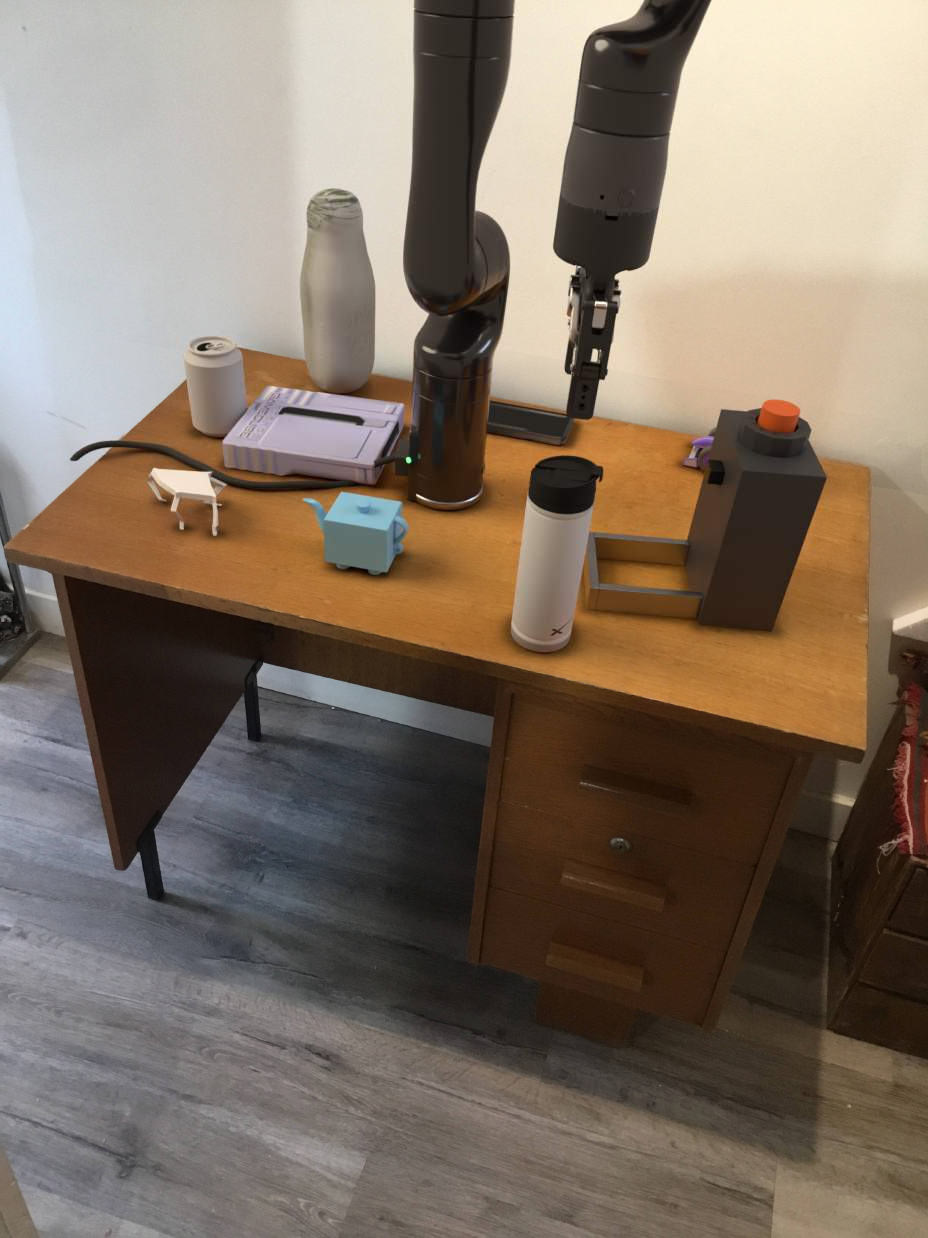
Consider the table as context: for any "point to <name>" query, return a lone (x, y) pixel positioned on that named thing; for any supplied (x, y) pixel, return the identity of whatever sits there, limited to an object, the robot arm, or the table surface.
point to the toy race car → (704, 454)
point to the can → (215, 384)
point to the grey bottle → (337, 294)
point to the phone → (528, 423)
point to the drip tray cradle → (642, 551)
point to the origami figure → (188, 489)
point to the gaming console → (314, 435)
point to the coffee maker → (752, 521)
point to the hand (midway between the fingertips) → (577, 394)
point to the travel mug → (553, 550)
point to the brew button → (779, 416)
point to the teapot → (361, 531)
